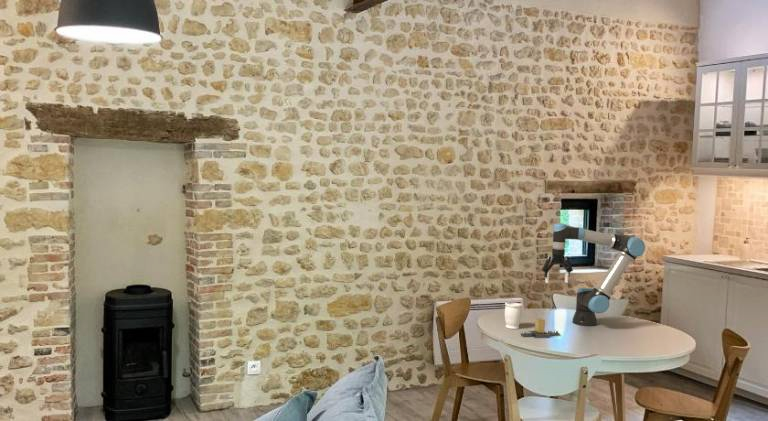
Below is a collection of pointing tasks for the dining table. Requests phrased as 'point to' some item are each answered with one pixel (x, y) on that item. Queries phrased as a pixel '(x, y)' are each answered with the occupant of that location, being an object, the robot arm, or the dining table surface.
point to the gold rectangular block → (539, 326)
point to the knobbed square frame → (545, 335)
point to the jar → (513, 315)
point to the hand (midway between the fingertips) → (556, 282)
